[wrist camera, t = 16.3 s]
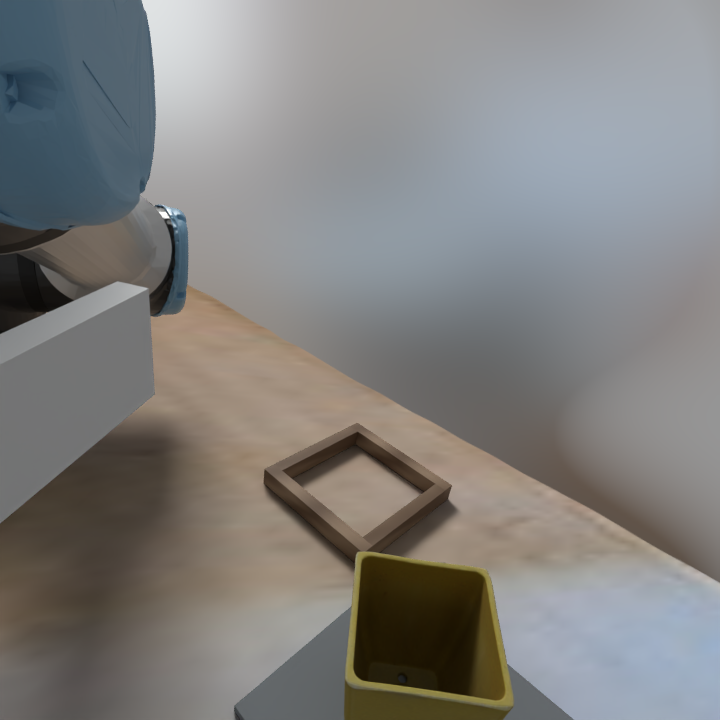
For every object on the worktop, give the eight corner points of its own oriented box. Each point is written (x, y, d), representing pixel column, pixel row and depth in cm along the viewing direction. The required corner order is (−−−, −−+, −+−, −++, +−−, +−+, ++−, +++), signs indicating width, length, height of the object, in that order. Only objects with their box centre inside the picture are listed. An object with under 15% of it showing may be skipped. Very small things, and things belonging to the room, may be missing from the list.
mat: (234, 711, 33) (234, 705, 32) (393, 574, 44) (394, 569, 43) (436, 985, 24) (439, 981, 23) (572, 726, 35) (575, 721, 34)
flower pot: (324, 774, 30) (343, 683, 26) (340, 634, 37) (356, 547, 33) (474, 797, 30) (517, 710, 26) (458, 652, 38) (489, 567, 33)
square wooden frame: (263, 483, 51) (264, 468, 50) (355, 435, 60) (357, 422, 60) (360, 567, 44) (363, 553, 43) (448, 498, 53) (451, 485, 52)
